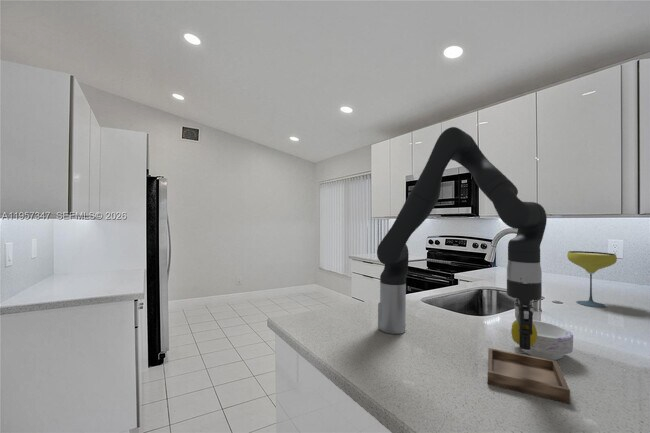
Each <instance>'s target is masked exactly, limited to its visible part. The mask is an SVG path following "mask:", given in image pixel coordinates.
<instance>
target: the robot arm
mask: <svg viewBox="0 0 650 433" xmlns="http://www.w3.org/2000/svg"><path fill="white" fill-rule="evenodd" d="M450 161H454V162H456V163H458V164H459V165H460V166H462V167H463V168H465V169H466V170H467V172H469V173H470V175H471V176H472V178H473V180H474V182H475V184H476V185H477V187H478V188H479V189H480V190H481V192H482V193H483V194H484V195H485V196H486V197H487V198H488V199H489V201H490V202H491V203H492V204H493V207H494V209H495V211H496V214H497V215H498V217H499V219H500V220H501V221H502V222H503V223H504V225H506V226H508V227H510V228H511V229H516V230H517V232H516V235H515V237H513V238H511V239H509V241H508V242H507V266H506V294H507V296H508V297H511V298H512V299H515V302H514V304H513V306H514V315H515V316H514V318H515V320H516V322H517V323H518V324H519V330H518V331H519V344H518V346H519V348H520V349H521V350H522V349H526V350H530V335H532V334H533V332H532V325H533V320H534V312H535V311H534V310H535V308H534V306H533V304H532V303H531V301H539V300H541V299H542V298H543V297H542V295H543V294H542V288H543V287H542V283H543V281H542V279H543V278H542V266H541V245H542V244H541V243H542V241H543V239H544V234H545V231H546V228H547V227H546V226H547V220H548V219H547V213H546V210H545V208H544V206H543V205H542V204H540V203H538V202H534V201H523V200H521V199H520V198H519V197H518V193H519V190H518V188H517V187H516V185H515V184H514V183H513V182H512V181H511V180H510V179H509V178H508V177H507V176H506V175H505V174H504V173H503V172H502V171H501V170H500V169H499V168H497V167H496V166H495V165H494V164H493V163H492V162H491V161H490V160H488V158H487V157H486V156H485V154H484V153H483V151H482V150H481V149H480V147H479V146H478V144H477V142H476V141H475V140H474V138H473V137H472V136H471V135H470V134H468V133H467V132H465V130H462V129H461V128H460V127H457V126H450V127H448V128H446V129H445V130H443V132H442V133H440V134H439V137H438V138H437V140H436V141H435V144H434V146H433V148H432V150H431V153H430V155H429V158H428V160H427V161H426V163H425V165H424V168H423V169H422V172H421V173H420V175H419V178H418V179H417V181H416V183H415V185H414V186H413V187H412V189H411V191H410V192H409V195H408V196H407V198H406V199H405V202H404V204H403V205H402V207H401V209H400V211H399V213H398V214H397V217H396V218H395V220H394V221H393V224H392V225H391V227H390V229H389V230H388V232H386V234H385V236H384V237H383V238H382V239H381V241H380V242H379V244H378V246H377V250H376V256H377V260H378V261H379V262H380V263H381V264H383V265H384V268H383V270H382V272H381V273H380V276H379V302H378V304H377V330H379V331H382V332H384V333H386V334H392V335H399V334H404V333H405V332H406V327H407V326H406V325H407V323H406V321H407V320H406V318H407V317H406V316H407V315H406V313H407V312H406V311H407V310H406V308H407V306H406V305H407V302H406V301H407V299H406V298H407V296H406V295H407V294H406V293H407V278H408V274H409V256H410V255H409V254H410V253H409V249H408V248H409V247H408V245H407V243H408V241H409V239H410V237H411V236H412V234H413V233H414V232H416V230H417V229H418V228H419V227H420V226H421V225H422V224H423V223H424V222H425V221H426V220H427V218H428V217H429V216H430V214H431V213H432V212H433V210H434V208H435V207H436V204H437V203H438V200H440V199H439V198H440V195H441V190H442V189H441V188H442V181H443V179H442V178H443V175H444V172H445V170H446V168H447V166H448V165H449V163H450ZM523 325H527V326H528V329H524V328H522V326H523Z"/></svg>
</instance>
